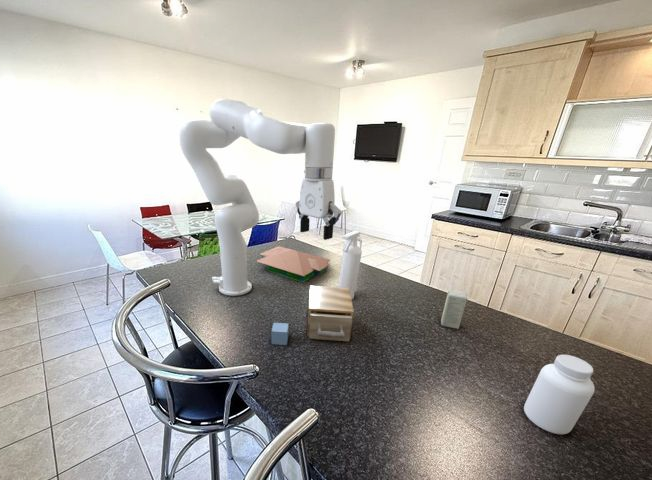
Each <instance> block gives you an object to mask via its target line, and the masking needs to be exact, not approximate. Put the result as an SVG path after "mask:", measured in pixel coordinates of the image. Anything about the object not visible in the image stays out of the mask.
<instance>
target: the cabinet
mask: <svg viewBox="0 0 652 480" xmlns="http://www.w3.org/2000/svg"><path fill="white" fill-rule="evenodd" d="M312 311H320V312H335V313H348V314H349V315H348V316H352V323H351V330H350V338H349V340H351V336H352V327H353V321H354V313H355V310H354V305H353V301H352V300H351V296H350V291H349V288H341V287H338V286H324V285H323V286H321V285H309V297H308V313H307V329H306V330H307V331H306V337H309V330H310V314H311V313H312Z"/></svg>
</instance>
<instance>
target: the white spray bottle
mask: <svg viewBox="0 0 652 480" xmlns="http://www.w3.org/2000/svg"><path fill="white" fill-rule="evenodd" d="M359 237H361V233H360V231H359V230H352V231H350V232H347V233H346V234H343V235H342V237H341V238H342V240H346V241H345V242H344V243H343V246H342V249H341V250H342V256H341V257H342V258H341V265H340V271H339V277H338V282H337V283H338V284H337V285H338V286H337V287H341V288H349V291H350V296H351V301H352V300H354V298H355V292H357V291H358V288H357V282H358V281H357V280H358V275H359V271H360V264H361V260H362V253H363V251H362V246H363V245H362V244H363V240H362V239H361V238H359ZM358 242H359V246H358Z"/></svg>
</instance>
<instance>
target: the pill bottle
mask: <svg viewBox="0 0 652 480" xmlns="http://www.w3.org/2000/svg"><path fill="white" fill-rule="evenodd" d="M593 373H594V368H593V366H592V365H591V364H590V363H589V362H587V361H585V360H583V359H581V358H580V357H577V356H574V355H569V354H558V355H556V357H555V360H554V362H553V363H548V364H546V365H543V367H542V368H541V369H540V371H539V373H538V375H537V378H536V379H535V381H534V384H533V385H532V388H531V390H530V392H529V394H528V396H527V398H526V401H525V403H524V406H523V411H524V414H525V416H526V417H527V418H528V420H529V421H531V422H532V423H533V424H534V425H535V426H537V427H538V428H541V429H542V430H544V431H546V432H548V433H551V434H556V435H566V434H569V433H570V432H571V431H572V430H573V429H574V427H575V425H576V424H577V422H578V420H579V418H580V417H581V416H582V414H583V412H584V410H585V409H586V407H587V406H588V404H589V402H590V400H591V399H592V396H593V395H594V394H595V384H594V382H593V380H591V377H592V376H593Z"/></svg>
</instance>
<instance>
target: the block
mask: <svg viewBox="0 0 652 480" xmlns="http://www.w3.org/2000/svg"><path fill="white" fill-rule="evenodd" d="M289 325H290V324H289V323H285V322H273V323H272V328H271V345H279V346H288V341H289Z"/></svg>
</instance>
